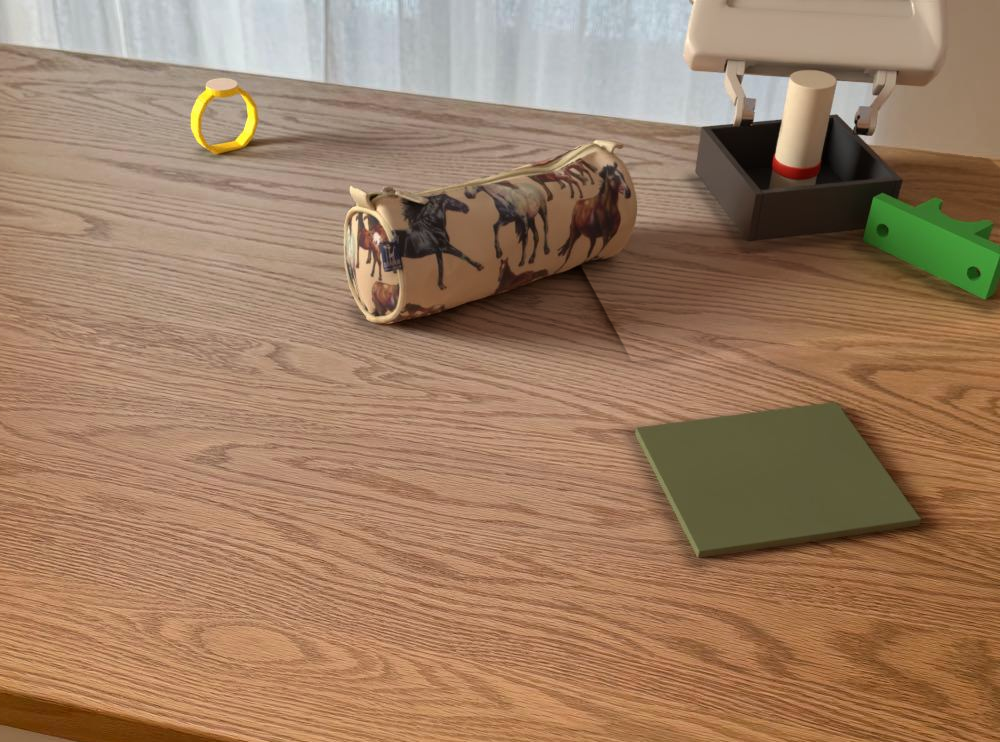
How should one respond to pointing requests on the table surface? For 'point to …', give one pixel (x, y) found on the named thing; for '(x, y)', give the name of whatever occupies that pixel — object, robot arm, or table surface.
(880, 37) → the robot arm
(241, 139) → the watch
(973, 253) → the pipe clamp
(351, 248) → the pencil case
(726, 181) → the bin
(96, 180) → the table surface
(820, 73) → the red-banded cream cylinder
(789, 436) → the mat
